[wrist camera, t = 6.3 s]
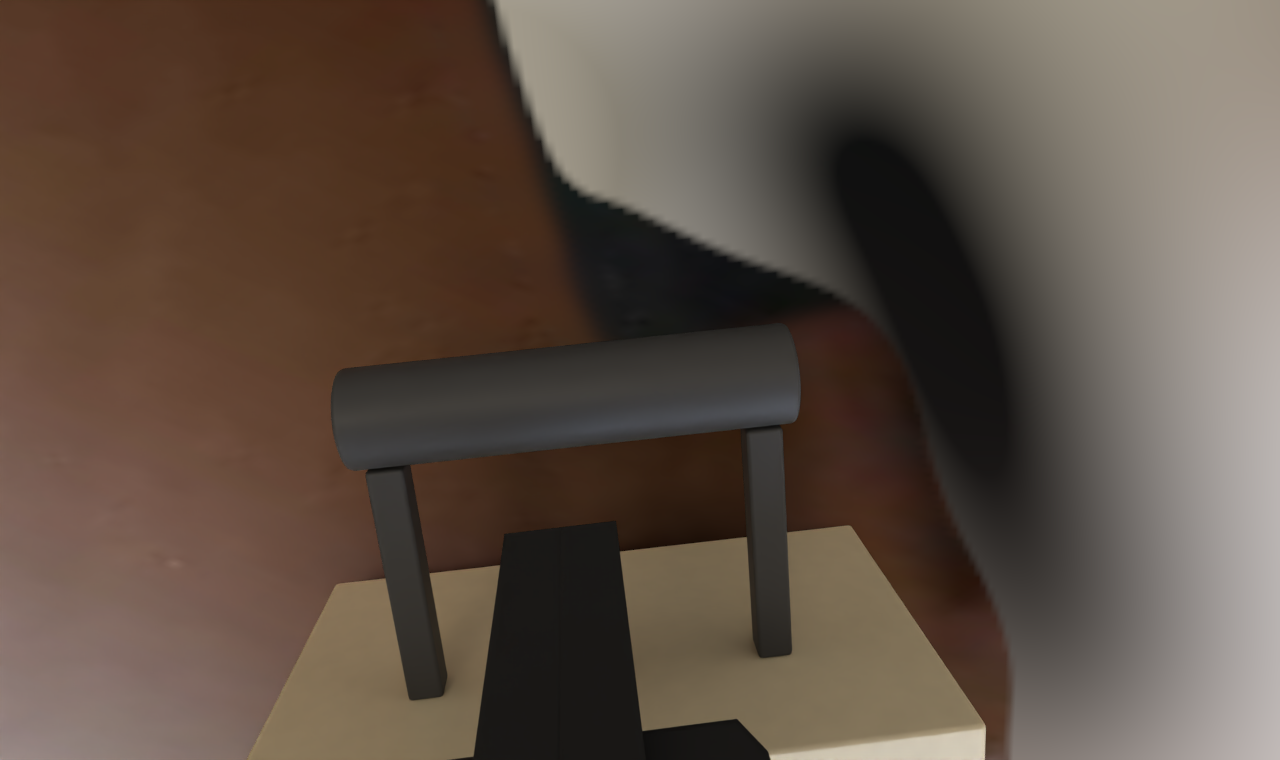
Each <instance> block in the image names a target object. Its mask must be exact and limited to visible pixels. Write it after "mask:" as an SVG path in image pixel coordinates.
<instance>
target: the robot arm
mask: <svg viewBox="0 0 1280 760" xmlns="http://www.w3.org/2000/svg"><path fill="white" fill-rule="evenodd" d="M450 760H771V759H770V756H769V753H768V751H767V750H766V749H765V748H764V747H763V745H762V744H761V743H760V742H759V741H758V740H757V739H756V738H755V737H754V736H753V735H752V734H751V733H750V732H749V731H748V730H747V729H746V728H745V727H744V726H743V725H742V723H741V722H740V721H739V720H738V719H731V720H723V721H716V722H708V723H700V724H693V725H685V726H677V727H670V728H662V729H654V730H646V731H642V724H641V716H640V708H639V700H638V692H637V684H636V676H635V668H634V660H633V652H632V644H631V637H630V629H629V621H628V613H627V605H626V597H625V589H624V581H623V573H622V565H621V557H620V549H619V541H618V533H617V525H616V521H611V522H603V523H594V524H586V525H577V526H569V527H560V528H551V529H543V530H534V531H526V532H517V533H509V534H504V541H503V548H502V555H501V562H500V570H499V577H498V584H497V591H496V598H495V605H494V613H493V620H492V627H491V634H490V641H489V648H488V655H487V663H486V670H485V677H484V684H483V691H482V698H481V706H480V713H479V720H478V727H477V734H476V741H475V749H474V756H473V757H465V758H458V759H450Z"/></svg>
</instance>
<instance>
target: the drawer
mask: <svg viewBox="0 0 1280 760" xmlns="http://www.w3.org/2000/svg"><path fill="white" fill-rule="evenodd" d="M800 399H801V385H800V372H799V364H798V358H797V353H796V348H795V344H794V341H793V338H792V336H791V333H790V331H789V329H788V327H787V326H786V325H784V324H781V323H777V324H767V325H757V326H748V327H738V328H729V329H719V330H709V331H700V332H690V333H681V334H671V335H661V336H652V337H642V338H633V339H623V340H613V341H604V342H594V343H585V344H575V345H565V346H556V347H546V348H536V349H527V350H517V351H508V352H498V353H488V354H479V355H469V356H460V357H450V358H440V359H431V360H421V361H412V362H402V363H392V364H383V365H373V366H363V367H354V368H345V369H342V370H340V371H339V372H338V373H337V374H336V376H335V379H334V382H333V387H332V393H331V420H332V429H333V434H334V439H335V443H336V447H337V450H338V453H339V455H340V458H341V460H342V462H343V463H344V465H345V466H346V467H347V468H348V469H350V470H353V471H359V470H368V471H367V472H366V481H367V486H368V492H369V497H370V502H371V507H372V512H373V517H374V522H375V528H376V533H377V538H378V543H379V548H380V553H381V558H382V564H383V569H384V574H385V578H384V579H376V580H367V581H358V582H349V583H341V584H337V585H335V587H334V589H333V591H332V593H331V595H330V597H329V599H328V601H327V603H326V605H325V607H324V609H323V611H322V613H321V615H320V617H319V619H318V621H317V623H316V625H315V626H314V628H313V630H312V632H311V634H310V636H309V638H308V640H307V642H306V644H305V646H304V648H303V650H302V652H301V654H300V656H299V658H298V660H297V662H296V664H295V666H294V668H293V670H292V672H291V674H290V675H289V677H288V679H287V681H286V683H285V685H284V687H283V689H282V691H281V693H280V695H279V697H278V699H277V701H276V703H275V705H274V707H273V709H272V711H271V713H270V715H269V717H268V719H267V721H266V723H265V724H264V726H263V728H262V730H261V732H260V734H259V736H258V738H257V740H256V742H255V744H254V746H253V748H252V750H251V752H250V754H249V756H248V758H247V760H450V759H458V758H465V757H473V756H474V749H475V741H476V734H477V727H478V720H479V713H480V706H481V698H482V691H483V684H484V677H485V670H486V663H487V655H488V648H489V641H490V634H491V627H492V620H493V613H494V605H495V598H496V591H497V584H498V577H499V570H500V565H498V566H489V567H481V568H472V569H463V570H454V571H446V572H437V573H429V568H428V563H427V557H426V551H425V546H424V540H423V535H422V529H421V523H420V518H419V512H418V506H417V501H416V495H415V490H414V484H413V478H412V473H411V467H410V465H414V464H423V463H432V462H441V461H450V460H459V459H469V458H478V457H487V456H496V455H505V454H514V453H524V452H533V451H542V450H551V449H560V448H569V447H579V446H588V445H597V444H606V443H615V442H624V441H634V440H643V439H652V438H661V437H670V436H679V435H689V434H698V433H707V432H716V431H725V430H734V429H740V430H741V447H742V463H743V480H744V497H745V514H746V531H747V537H743V538H734V539H725V540H717V541H708V542H699V543H690V544H682V545H673V546H664V547H655V548H647V549H638V550H629V551H620V557H621V565H622V573H623V581H624V589H625V597H626V605H627V613H628V621H629V629H630V637H631V644H632V652H633V660H634V668H635V676H636V684H637V692H638V700H639V708H640V716H641V724H642V731H646V730H654V729H662V728H670V727H677V726H685V725H693V724H700V723H708V722H716V721H723V720H731V719H738V720H739V721H740V722H741V723H742V725H743V726H744V727H745V728H746V729H747V730H748V731H749V732H750V733H751V734H752V735H753V736H754V737H755V738H756V739H757V740H758V741H759V742H760V743H761V744H762V745H763V747H764V748H765V749H766V750H767V751H768V753H769V756H770V759H771V760H985V736H986V726H985V724H984V722H983V721H982V719H981V718H980V716H979V715H978V713H977V712H976V710H975V709H974V707H973V706H972V704H971V703H970V701H969V700H968V698H967V697H966V695H965V694H964V692H963V691H962V690H961V688H960V687H959V685H958V684H957V682H956V681H955V679H954V678H953V676H952V675H951V673H950V672H949V670H948V669H947V667H946V666H945V664H944V663H943V661H942V660H941V659H940V657H939V656H938V654H937V653H936V651H935V650H934V648H933V647H932V645H931V644H930V642H929V641H928V639H927V638H926V636H925V635H924V633H923V632H922V630H921V629H920V627H919V626H918V625H917V623H916V622H915V620H914V619H913V617H912V616H911V614H910V613H909V611H908V610H907V608H906V607H905V605H904V604H903V602H902V601H901V599H900V598H899V596H898V595H897V594H896V592H895V591H894V589H893V588H892V586H891V585H890V583H889V582H888V580H887V579H886V577H885V576H884V574H883V573H882V571H881V570H880V568H879V567H878V565H877V564H876V562H875V561H874V560H873V558H872V557H871V555H870V554H869V552H868V551H867V549H866V548H865V546H864V545H863V543H862V542H861V540H860V539H859V537H858V536H857V534H856V533H855V531H854V530H853V529H852V527H851V526H839V527H830V528H821V529H813V530H804V531H795V532H787V520H786V497H785V475H784V452H783V430H782V428H781V427H780V424H789V423H792V422H794V421H796V419H797V417H798V413H799V408H800Z"/></svg>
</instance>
